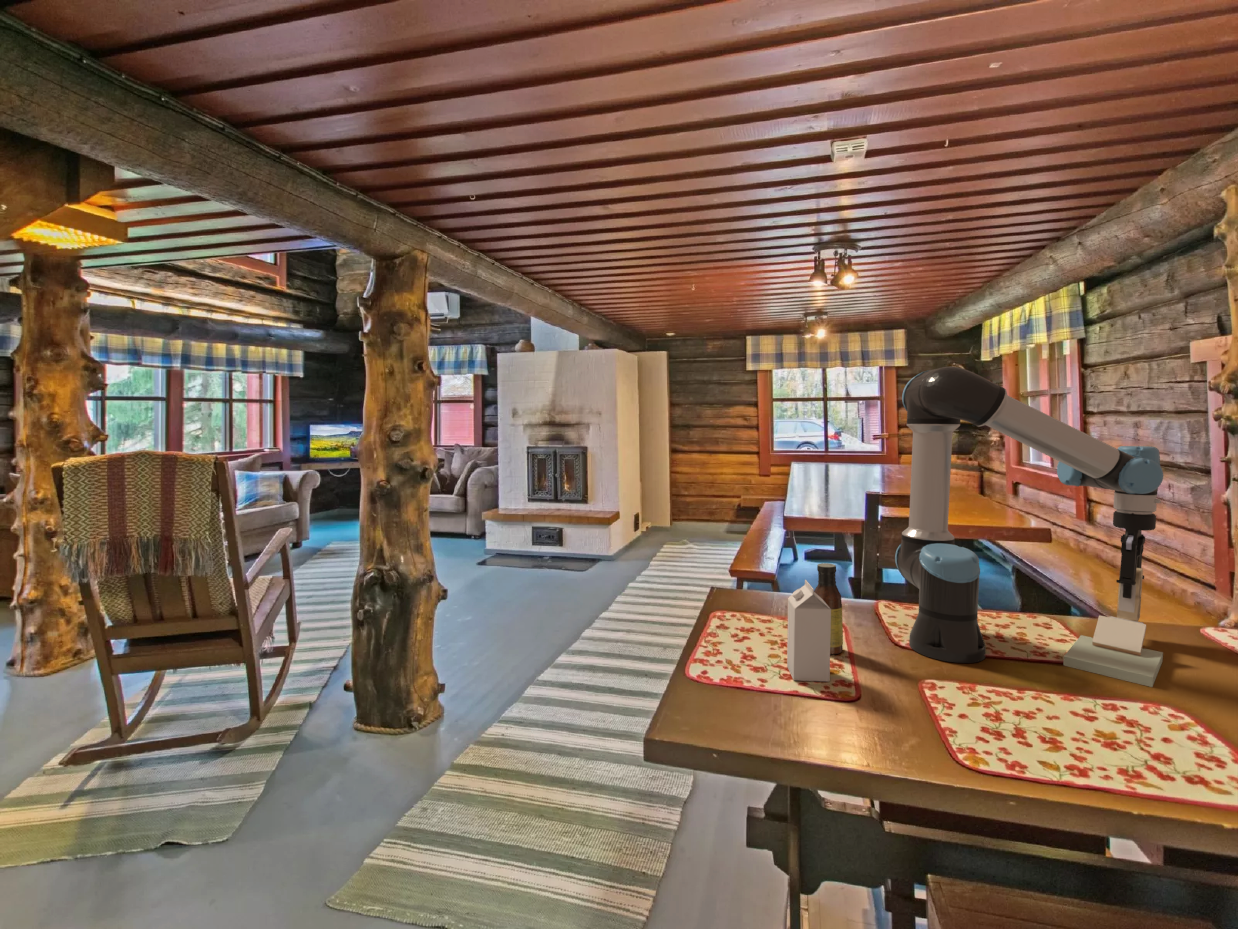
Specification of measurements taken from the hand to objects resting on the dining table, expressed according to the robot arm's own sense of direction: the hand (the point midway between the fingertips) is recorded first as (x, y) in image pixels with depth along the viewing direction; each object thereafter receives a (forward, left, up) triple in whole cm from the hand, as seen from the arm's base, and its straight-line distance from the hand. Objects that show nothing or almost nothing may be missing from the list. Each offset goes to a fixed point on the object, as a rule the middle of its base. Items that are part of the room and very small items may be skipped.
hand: (1128, 607), depth 137 cm
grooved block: (-14, -15, -8) cm, 22 cm away
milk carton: (-81, -22, -8) cm, 85 cm away
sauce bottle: (-73, -9, -8) cm, 74 cm away
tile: (-10, -10, -3) cm, 14 cm away
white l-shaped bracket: (-3, -3, -3) cm, 5 cm away
